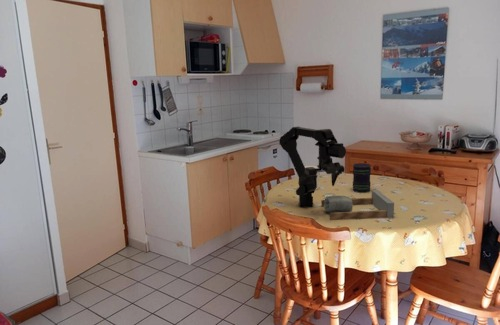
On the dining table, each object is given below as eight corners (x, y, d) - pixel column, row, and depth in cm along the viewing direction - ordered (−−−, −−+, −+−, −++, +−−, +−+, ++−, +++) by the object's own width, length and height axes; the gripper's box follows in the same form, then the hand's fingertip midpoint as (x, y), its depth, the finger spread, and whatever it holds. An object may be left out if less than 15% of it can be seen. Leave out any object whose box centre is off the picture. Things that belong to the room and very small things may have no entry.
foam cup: (321, 190, 223) (321, 169, 221) (305, 191, 224) (305, 169, 221) (318, 186, 233) (318, 165, 230) (303, 186, 233) (303, 166, 230)
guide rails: (330, 219, 177) (330, 213, 176) (321, 205, 197) (321, 200, 197) (386, 217, 177) (387, 211, 177) (371, 203, 198) (371, 197, 197)
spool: (322, 209, 182) (327, 189, 184) (321, 211, 191) (326, 192, 193) (351, 217, 179) (355, 196, 181) (348, 219, 188) (353, 200, 191)
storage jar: (368, 188, 225) (369, 163, 222) (372, 192, 215) (372, 166, 212) (351, 188, 226) (351, 163, 223) (354, 193, 216) (354, 167, 213)
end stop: (387, 217, 177) (387, 203, 175) (371, 202, 198) (371, 189, 197) (393, 217, 177) (394, 202, 175) (377, 202, 198) (377, 189, 197)
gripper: (314, 160, 173) (314, 193, 177) (350, 156, 178) (350, 189, 182) (304, 156, 184) (304, 187, 187) (339, 152, 189) (338, 183, 192)
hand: (324, 186), depth 187 cm, fingers open, 9 cm apart
